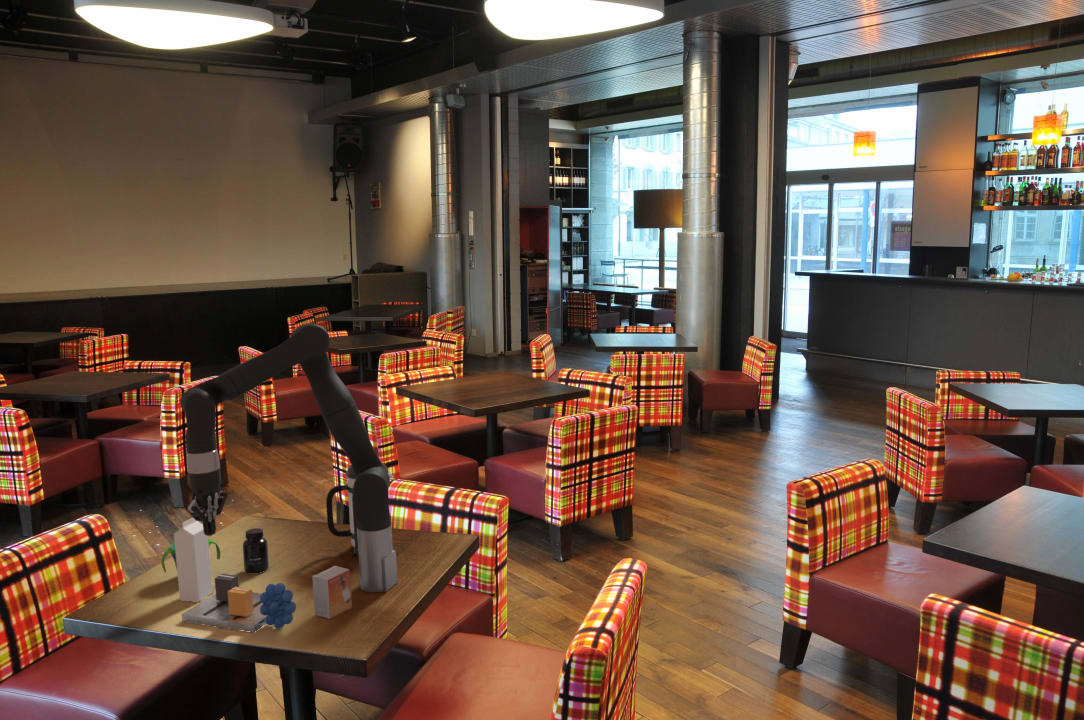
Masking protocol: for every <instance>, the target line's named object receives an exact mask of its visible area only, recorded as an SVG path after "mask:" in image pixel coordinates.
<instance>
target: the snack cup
mask: <svg viewBox="0 0 1084 720" xmlns="http://www.w3.org/2000/svg"><path fill="white" fill-rule="evenodd" d="M208 543H209V547H210V545H212V544H214V545H215V550H216V559H217V560H218V561H219V560H220V559H221V549H220V546H219V545H218V543H217V542H216V541H215V540H213V539H210V538H208ZM169 554H171V556H172V559H173V561H174V564H175V569H176V570H177V562H176V552H175V541H174V542H173V543H171V544H170V546H169V547H168V549H166V550H165V551H164V552H163V554H162V557H161V567H162V569H163V572H164V573H167V570H166V566H165V559H166V557H167V556H168V555H169Z"/></svg>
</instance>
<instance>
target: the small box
mask: <svg viewBox="0 0 1084 720" xmlns="http://www.w3.org/2000/svg"><path fill="white" fill-rule="evenodd" d="M311 577H312V589H313V591H312V593H313V594H312V595H313V605H314V606H313V607H314V608H313V609H314V615H315V616H319V617H322V618H326V619H329V620H330V619H331V620H332V619H333V618H334V617H336V616H338V615H340V614H342V613H344V612H345V611H347V610H350V609H352V607H353V605H352V589H351V588H352V587H351V584H352V583H351V570H350V569H349V568H346V567H345V568H344V567H341V566H337V565H332V567H329V568H328V569H326V570H323V571H321V572H320V573H317V574H314V575H312V576H311Z"/></svg>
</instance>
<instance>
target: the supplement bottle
mask: <svg viewBox="0 0 1084 720" xmlns="http://www.w3.org/2000/svg"><path fill="white" fill-rule="evenodd" d="M268 549H269V547H268V540H267V538H265V537H264V530H263V528H259V527H256V528H249V529H247V530H246V531H245V540H244V541H243V542H242V555H243V556H242V558H243V559H242V560H243V570H244V572H245V573H246V574H248V573H259V574H261V573H260V572H263V571H265V572H267V571H268V570H267V569H269V568H270V567H269V565H270V563H269V550H268ZM266 570H267V571H266ZM263 573H264V572H263Z"/></svg>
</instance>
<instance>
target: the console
mask: <svg viewBox="0 0 1084 720" xmlns="http://www.w3.org/2000/svg"><path fill="white" fill-rule="evenodd" d="M261 594H262V593H260V592H253V591H252V595H253V608H254V612H252V613H251V614H249V615H248V616H246V617H245V616H238V615H232V614H229V603H228V602H227V601H220V600H216V593H214V594H213V595H210V596H209V597H207V598H205V599H204V600H202V601H201V602H199V604H196V605H195V606H193V607H191V608H189V609H188V610H186V611H185V612H183V613H181V622H182V623H188V622H189V624H194V623H197V624H196V625H200V624H205V625H204V626H206V625H210V626H209V627H213V626H216V627H215V628H219V627H222V628H221V629H225V628H230V629H229V630H231V629H236V630H235V631H238V630H244V631H250V632H255V631H257V630H258V629H260V628H261V627H262V626H263V625H265V624H267V623H266V622H265V619H266V616H267V615H266V616H265V615H262V614H261V613H260V608H261V606H262V605H263V603H261V601H260V596H261ZM291 602H294V603H295V599H294V597H293V598H292V600H291ZM267 625H268V624H267ZM265 626H266V625H265ZM261 629H262V628H261ZM261 629H260V630H261ZM244 631H243V632H244ZM258 631H259V630H258ZM258 631H257V632H258ZM250 632H249V633H250Z"/></svg>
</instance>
